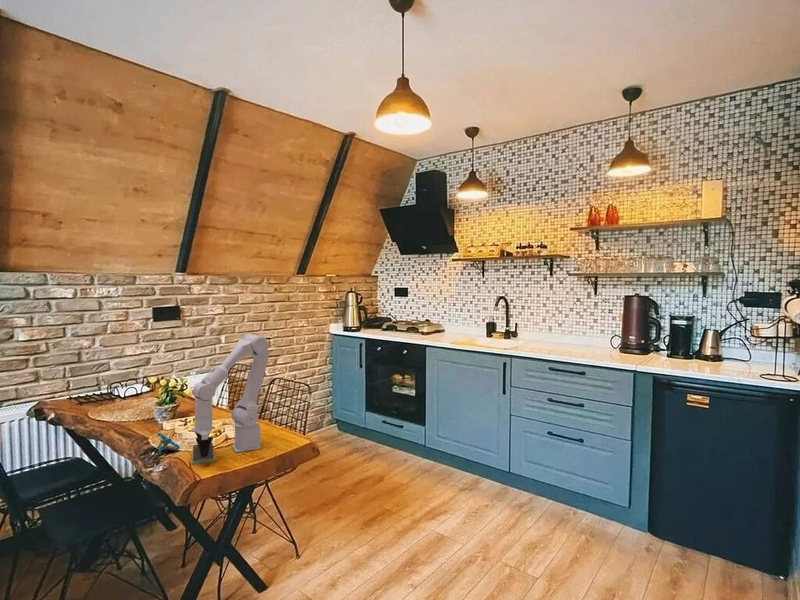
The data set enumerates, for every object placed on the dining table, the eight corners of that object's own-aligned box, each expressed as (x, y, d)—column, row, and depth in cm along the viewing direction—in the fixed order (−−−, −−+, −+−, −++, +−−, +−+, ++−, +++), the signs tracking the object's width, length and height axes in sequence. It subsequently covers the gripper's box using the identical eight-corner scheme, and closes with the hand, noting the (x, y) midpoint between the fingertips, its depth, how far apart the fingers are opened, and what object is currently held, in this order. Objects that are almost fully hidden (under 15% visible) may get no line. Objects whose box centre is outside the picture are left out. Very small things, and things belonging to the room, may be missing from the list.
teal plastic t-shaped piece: (184, 447, 173) (163, 432, 169) (173, 461, 170) (151, 447, 166) (176, 442, 181) (155, 428, 177) (165, 456, 179) (143, 442, 174)
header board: (214, 454, 171) (214, 447, 171) (216, 461, 166) (216, 453, 166) (191, 458, 168) (191, 450, 167) (191, 464, 162) (191, 456, 162)
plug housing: (212, 454, 170) (212, 442, 170) (213, 457, 166) (213, 445, 166) (192, 457, 167) (192, 445, 167) (193, 460, 164) (193, 448, 163)
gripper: (190, 411, 170) (190, 446, 171) (192, 423, 157) (192, 461, 158) (211, 409, 173) (211, 444, 174) (214, 420, 161) (214, 458, 161)
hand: (203, 452), depth 167 cm, fingers open, 7 cm apart
